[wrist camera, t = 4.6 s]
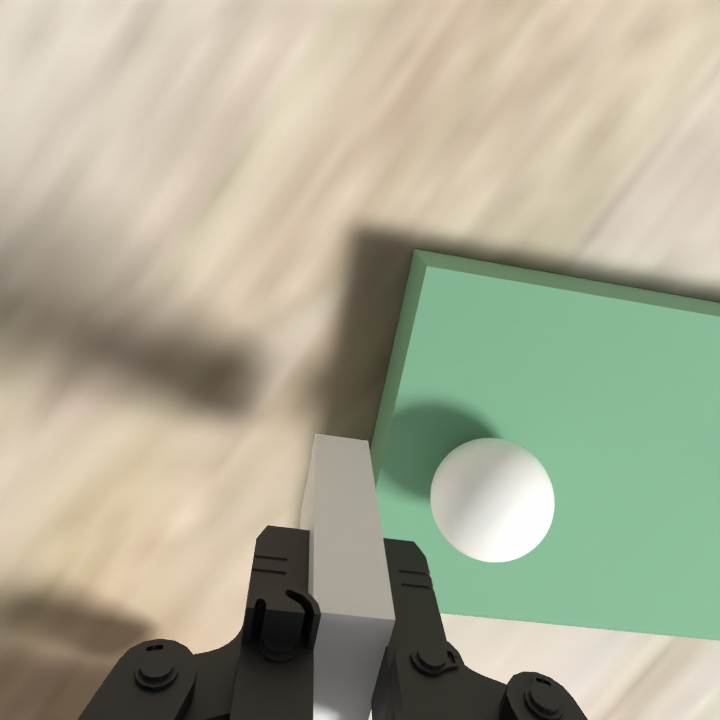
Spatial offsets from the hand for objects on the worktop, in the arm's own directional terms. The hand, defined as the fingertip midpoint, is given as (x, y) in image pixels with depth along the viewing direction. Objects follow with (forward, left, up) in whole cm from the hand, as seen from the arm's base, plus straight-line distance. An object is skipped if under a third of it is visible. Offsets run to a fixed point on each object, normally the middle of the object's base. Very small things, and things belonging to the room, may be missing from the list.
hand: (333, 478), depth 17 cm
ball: (0, +5, 0) cm, 5 cm away
